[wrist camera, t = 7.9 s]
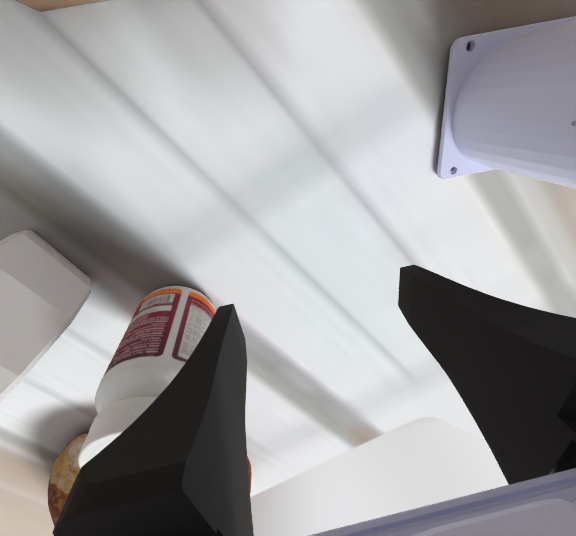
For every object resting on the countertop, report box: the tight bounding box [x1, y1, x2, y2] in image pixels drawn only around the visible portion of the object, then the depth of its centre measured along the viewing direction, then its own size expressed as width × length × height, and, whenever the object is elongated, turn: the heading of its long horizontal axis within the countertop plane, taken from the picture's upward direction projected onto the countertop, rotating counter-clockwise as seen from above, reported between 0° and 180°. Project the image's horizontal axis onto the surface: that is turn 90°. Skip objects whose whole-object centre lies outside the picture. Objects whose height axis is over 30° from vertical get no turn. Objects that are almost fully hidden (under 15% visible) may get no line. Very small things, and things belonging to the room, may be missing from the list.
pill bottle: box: [78, 286, 216, 469], centre depth 18 cm, size 6×6×11 cm
